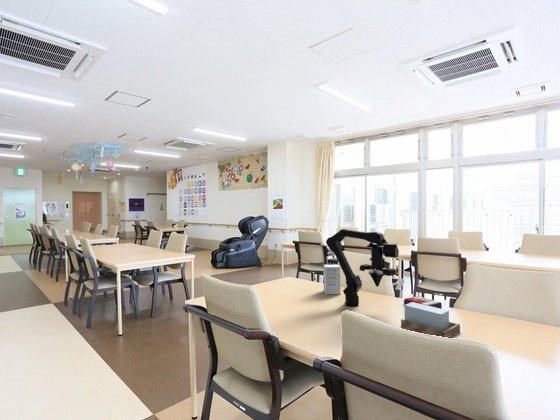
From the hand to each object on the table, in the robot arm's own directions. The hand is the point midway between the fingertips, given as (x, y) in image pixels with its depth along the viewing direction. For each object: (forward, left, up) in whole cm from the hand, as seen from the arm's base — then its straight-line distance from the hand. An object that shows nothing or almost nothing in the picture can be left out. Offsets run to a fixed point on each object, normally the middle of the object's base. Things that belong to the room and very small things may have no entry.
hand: (377, 286), depth 158 cm
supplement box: (-20, +32, -12) cm, 40 cm away
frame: (+15, -25, -12) cm, 31 cm away
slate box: (+15, -24, -12) cm, 31 cm away
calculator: (+25, +6, -13) cm, 28 cm away
